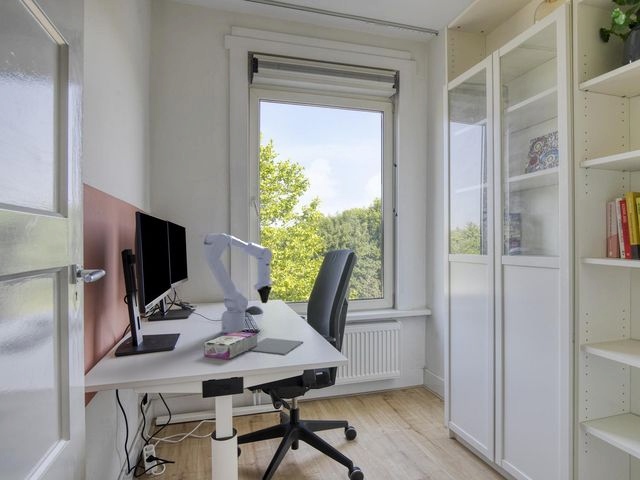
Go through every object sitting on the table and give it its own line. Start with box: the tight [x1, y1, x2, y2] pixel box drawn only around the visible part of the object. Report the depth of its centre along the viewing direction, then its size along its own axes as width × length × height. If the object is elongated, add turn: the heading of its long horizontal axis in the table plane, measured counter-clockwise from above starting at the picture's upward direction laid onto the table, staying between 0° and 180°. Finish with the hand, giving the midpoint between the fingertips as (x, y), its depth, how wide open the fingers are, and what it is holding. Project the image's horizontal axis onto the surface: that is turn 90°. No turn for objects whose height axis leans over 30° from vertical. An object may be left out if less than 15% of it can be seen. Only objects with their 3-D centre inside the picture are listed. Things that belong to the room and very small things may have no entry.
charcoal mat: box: [247, 337, 304, 356], centre depth 140 cm, size 16×16×1 cm
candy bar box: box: [203, 331, 258, 360], centre depth 134 cm, size 11×5×16 cm
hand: (264, 302), depth 173 cm, fingers closed
